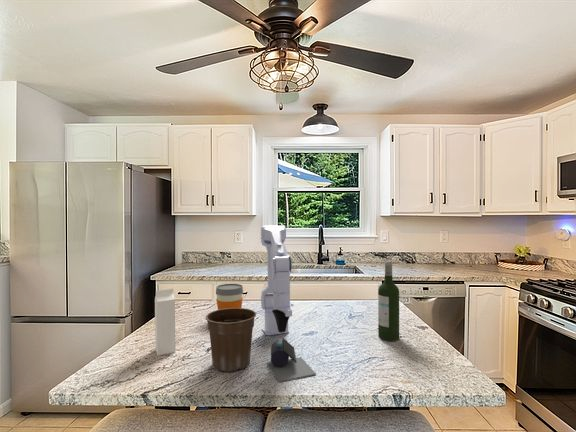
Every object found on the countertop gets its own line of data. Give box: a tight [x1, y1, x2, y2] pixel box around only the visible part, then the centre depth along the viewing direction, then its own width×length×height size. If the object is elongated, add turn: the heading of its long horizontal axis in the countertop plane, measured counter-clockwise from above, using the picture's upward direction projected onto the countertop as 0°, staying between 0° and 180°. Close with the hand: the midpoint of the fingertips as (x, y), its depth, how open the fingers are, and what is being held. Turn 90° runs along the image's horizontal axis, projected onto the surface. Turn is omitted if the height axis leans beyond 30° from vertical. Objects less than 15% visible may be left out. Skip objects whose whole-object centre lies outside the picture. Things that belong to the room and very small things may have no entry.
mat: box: [266, 356, 317, 383], centre depth 102 cm, size 12×12×1 cm
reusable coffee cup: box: [215, 283, 244, 310], centre depth 151 cm, size 12×13×15 cm
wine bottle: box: [377, 260, 400, 342], centre depth 127 cm, size 8×8×30 cm
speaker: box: [270, 337, 297, 368], centre depth 105 cm, size 8×6×10 cm
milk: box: [154, 288, 176, 357], centre depth 116 cm, size 6×6×22 cm
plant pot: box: [205, 307, 257, 373], centre depth 106 cm, size 16×16×16 cm
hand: (281, 331), depth 110 cm, fingers closed
